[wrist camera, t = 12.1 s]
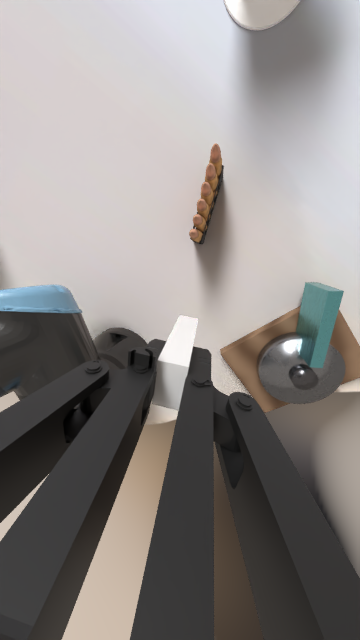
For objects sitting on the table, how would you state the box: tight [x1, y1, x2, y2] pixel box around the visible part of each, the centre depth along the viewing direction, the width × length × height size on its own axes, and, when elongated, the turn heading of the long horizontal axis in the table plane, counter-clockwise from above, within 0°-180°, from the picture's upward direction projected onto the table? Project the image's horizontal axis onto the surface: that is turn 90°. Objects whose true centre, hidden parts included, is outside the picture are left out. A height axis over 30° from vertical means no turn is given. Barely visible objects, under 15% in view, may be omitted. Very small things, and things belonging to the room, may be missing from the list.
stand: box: [221, 306, 360, 413], centre depth 38 cm, size 22×18×2 cm
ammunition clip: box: [189, 144, 224, 244], centre depth 27 cm, size 11×2×12 cm, turn 164°
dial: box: [257, 282, 345, 404], centre depth 32 cm, size 23×14×7 cm, turn 1°
